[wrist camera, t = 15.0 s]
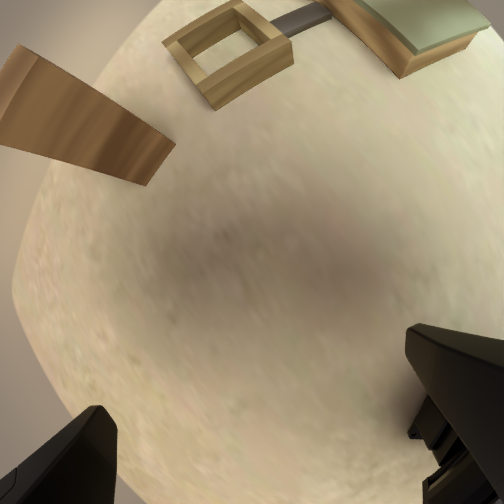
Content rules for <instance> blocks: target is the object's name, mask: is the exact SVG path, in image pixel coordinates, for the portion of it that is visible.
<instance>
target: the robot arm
mask: <svg viewBox="0 0 504 504" xmlns="http://www.w3.org/2000/svg"><path fill="white" fill-rule="evenodd" d="M405 354H406V357H407V359H408V361H409V362H410V364H411V366H412V367H413V369H414V371H415V372H416V374H417V376H418V377H419V379H420V381H421V383H422V384H423V386H424V388H425V389H426V391H427V393H428V394H429V395H428V396H427V397H426V399H425V401H424V403H423V405H422V407H421V409H420V411H419V413H418V414H417V416H416V418H415V420H414V423H413V424H412V426H411V428H410V430H409V431H408V437H409V438H410V439H422V440H424V442H425V444H426V446H427V448H428V450H431V451H432V453H433V455H434V457H435V459H436V461H437V463H438V465H439V466H441V467H440V468H439V469H438V470H437V471H436V472H435V473H433V474H432V475H431V476H430V477H427V478H426V479H425V480H424V481H423V482H422V487H423V504H504V340H499V339H494V338H489V337H484V336H478V335H473V334H468V333H463V332H458V331H454V330H449V329H444V328H439V327H435V326H430V325H425V324H421V323H418V324H415V325H413V326H411V327H409V328H408V329H407V330H406V340H405ZM414 432H415V433H414ZM117 433H118V430H117V425H116V423H115V422H114V420H113V419H112V418H111V416H110V415H109V413H108V412H107V411H106V409H105V408H104V407H103V406H101V405H92V406H89V407H88V408H87V409H85V410H84V411H83V412H82V413H81V414H80V415H78V416H77V417H76V418H75V419H74V420H72V421H71V422H70V423H69V424H68V425H67V426H66V427H64V428H63V429H62V430H60V431H59V432H58V433H57V434H56V435H54V436H53V437H52V438H51V439H50V440H48V441H47V442H46V443H45V444H44V445H43V446H41V447H40V448H39V449H38V450H37V451H35V452H34V453H33V454H32V455H30V456H29V457H28V458H27V459H26V460H24V461H23V462H22V463H21V464H19V465H18V467H16V468H14V469H13V470H12V471H11V472H10V473H8V474H7V475H6V476H4V477H3V478H2V479H1V480H0V504H114V497H115V484H116V474H117ZM413 433H414V434H413Z"/></svg>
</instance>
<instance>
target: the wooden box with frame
mask: <svg viewBox="0 0 504 504" xmlns="http://www.w3.org/2000/svg"><path fill="white" fill-rule="evenodd" d="M313 1H315V2H314V3H311V4H309V5H306V6H304V7H301V8H299V9H297V10H294V11H292V12H290V13H287V14H285V15H283V16H281V17H279V18H276V19H274V20H272V21H270V22H269V21H267V20H266V19H265V18H264V17H262V16H261V15H260V14H259V13H257V12H256V11H255V10H254V9H252V8H251V7H250V6H248V5H247V4H246V3H244V2H243V1H242V0H230V1H228V2H226V3H225V4H223V5H221V6H219V7H217V8H215V9H213V10H212V11H210V12H208V13H206V14H204V15H203V16H201V17H199V18H198V19H196V20H194V21H193V22H191V23H189V24H188V25H186V26H185V27H183V28H182V29H180V30H178V31H177V32H175V33H174V34H172V35H171V36H169V37H168V38H167V39H165V40H164V41H162V44H163V45H164V46H165V47H166V48H167V50H168V51H169V52H170V53H171V55H172V56H173V57H174V58H175V60H176V61H177V62H178V63H179V65H180V66H181V67H182V68H183V70H184V71H185V72H186V73H187V75H188V76H189V77H190V78H191V80H192V81H193V82H194V84H195V85H196V86H197V87H198V89H199V90H200V91H201V93H202V94H203V95H204V97H205V98H206V99H207V100H208V102H209V103H210V104H211V106H212V107H213V108H214V110H215V111H217V110H218V109H220V108H221V107H223V106H224V105H226V104H227V103H229V102H230V101H232V100H233V99H235V98H236V97H238V96H239V95H241V94H243V93H244V92H246V91H247V90H249V89H251V88H252V87H254V86H255V85H257V84H259V83H260V82H262V81H264V80H266V79H267V78H269V77H271V76H272V75H274V74H276V73H278V72H280V71H281V70H283V69H285V68H287V67H289V66H290V65H292V64H294V59H293V51H292V43H291V41H290V40H289V39H288V38H289V37H291V36H293V35H295V34H298V33H300V32H302V31H304V30H306V29H308V28H311V27H313V26H315V25H318V24H320V23H322V22H325V21H327V20H330V19H332V15H333V16H334V17H335V18H337V19H338V20H339V21H340V22H341V23H343V24H344V25H345V26H346V27H347V28H349V29H350V30H351V31H352V32H353V33H354V34H355V35H356V36H358V37H359V38H360V39H361V40H362V41H363V42H364V43H365V44H366V45H367V46H368V47H369V48H370V49H371V50H372V51H373V52H374V53H375V54H376V55H377V56H378V57H379V58H380V59H381V60H382V61H383V62H384V63H385V64H386V65H387V66H388V67H389V68H390V69H391V70H392V71H393V72H394V73H395V74H396V76H397V77H398V78H399V79H401V78H403V77H405V76H407V75H409V74H411V73H413V72H415V71H417V70H419V69H422V68H424V67H426V66H428V65H430V64H432V63H434V62H436V61H439V60H441V59H443V58H445V57H447V56H450V55H452V54H454V53H457V52H459V51H461V50H464V49H466V47H467V46H468V45H469V43H470V42H471V41H472V39H473V38H474V37H475V35H476V34H477V32H478V31H481V30H485V29H488V27H489V26H490V25H491V23H490V22H489V21H488V20H487V19H486V18H485V17H484V16H483V15H482V14H481V13H480V12H479V11H478V10H477V9H476V8H475V7H474V6H473V5H472V4H471V3H470V2H469V1H467V0H313ZM239 29H242V30H243V31H244V32H246V33H247V34H248V35H249V36H250V37H251V38H252V39H253V40H254V41H255V42H256V43H257V44H259V45H260V46H258V47H256V48H254V49H252V50H251V51H249V52H247V53H245V54H244V55H242V56H240V57H238V58H237V59H235V60H233V61H232V62H230V63H228V64H227V65H225V66H224V67H222V68H220V69H219V70H217V71H216V72H214V73H213V74H211V75H210V76H207V75H206V74H205V73H204V72H203V70H202V69H201V68H200V67H199V66H198V65H197V63H196V62H195V61H194V60H193V59H192V58H193V57H194V56H196V55H197V54H199V53H201V52H202V51H204V50H205V49H207V48H208V47H210V46H212V45H213V44H215V43H217V42H218V41H220V40H222V39H223V38H225V37H227V36H229V35H230V34H232V33H234V32H236V31H237V30H239Z"/></svg>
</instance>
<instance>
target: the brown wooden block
mask: <svg viewBox="0 0 504 504" xmlns="http://www.w3.org/2000/svg"><path fill="white" fill-rule="evenodd" d="M0 145H4V146H7V147H11V148H16V149H19V150H23V151H26V152H30V153H34V154H38V155H41V156H45V157H48V158H52V159H56V160H59V161H63V162H66V163H70V164H73V165H77V166H80V167H83V168H87V169H90V170H94V171H97V172H100V173H104V174H107V175H110V176H114V177H117V178H120V179H124V180H127V181H130V182H133V183H137V184H140V185H143V186H146V185H147V183H148V182H149V181H150V179H151V178H152V176H153V175H154V173H155V172H156V171H157V169H158V168H159V166H160V165H161V164H162V162H163V161H164V160H165V158H166V157H167V156H168V154H169V153H170V152H171V150H172V149H173V148H174V146H175V145H176V144H175V143H173V142H172V141H171V140H169V139H168V138H167V137H165V136H164V135H162V134H161V133H160V132H158V131H157V130H156V129H154V128H153V127H151V126H150V125H149V124H147V123H146V122H144V121H143V120H141V119H140V118H138V117H137V116H135V115H134V114H132V113H131V112H129V111H128V110H126V109H125V108H123V107H122V106H120V105H119V104H117V103H116V102H114V101H113V100H111V99H110V98H108V97H106V96H105V95H103V94H102V93H100V92H99V91H97V90H95V89H94V88H92V87H91V86H89V85H87V84H86V83H84V82H83V81H81V80H79V79H78V78H76V77H75V76H73V75H71V74H70V73H68V72H66V71H65V70H63V69H61V68H60V67H58V66H56V65H55V64H53V63H51V62H50V61H48V60H46V59H45V58H43V57H41V56H39V55H38V54H36V53H34V52H32V51H31V50H29V49H27V48H25V47H24V46H22V45H20V44H18V45H17V46H16V48H15V49H14V51H13V52H12V53H11V55H10V56H9V58H8V59H7V61H6V63H5V64H4V66H3V68H2V69H1V71H0Z"/></svg>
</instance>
